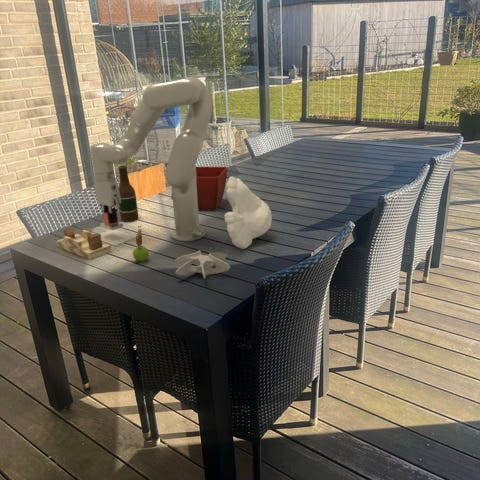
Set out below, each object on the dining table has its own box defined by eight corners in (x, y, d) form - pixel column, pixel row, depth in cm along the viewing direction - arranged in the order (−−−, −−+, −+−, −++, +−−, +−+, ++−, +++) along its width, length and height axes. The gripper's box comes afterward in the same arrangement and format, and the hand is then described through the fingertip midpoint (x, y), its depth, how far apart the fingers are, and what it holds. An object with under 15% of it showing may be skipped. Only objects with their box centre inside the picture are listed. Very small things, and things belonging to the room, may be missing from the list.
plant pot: (220, 213, 214) (218, 176, 208) (179, 212, 218) (176, 176, 212) (229, 200, 232) (227, 166, 225) (192, 200, 236) (189, 166, 229)
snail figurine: (151, 256, 173) (147, 224, 168) (148, 263, 167) (144, 231, 162) (135, 256, 172) (131, 225, 168) (132, 264, 166) (128, 232, 162)
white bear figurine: (248, 209, 196) (216, 170, 179) (281, 207, 186) (250, 166, 170) (228, 262, 185) (192, 226, 168) (262, 263, 175) (227, 224, 159)
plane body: (111, 251, 178) (108, 232, 175) (90, 259, 172) (87, 240, 169) (78, 239, 191) (74, 222, 189) (57, 246, 185) (54, 228, 182)
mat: (137, 237, 191) (137, 236, 190) (115, 246, 183) (115, 245, 183) (113, 230, 200) (113, 228, 200) (91, 238, 192) (90, 237, 192)
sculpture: (219, 288, 147) (218, 269, 144) (162, 280, 154) (160, 262, 152) (240, 265, 162) (239, 248, 159) (188, 258, 169) (186, 242, 167)
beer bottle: (121, 223, 208) (113, 169, 199) (120, 218, 215) (112, 165, 206) (139, 221, 209) (132, 167, 201) (138, 215, 216) (131, 163, 208)
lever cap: (123, 226, 189) (121, 211, 187) (112, 230, 186) (110, 215, 183) (110, 222, 194) (108, 208, 192) (100, 226, 190) (98, 211, 188)
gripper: (125, 176, 180) (131, 222, 187) (100, 171, 190) (106, 215, 197) (109, 181, 175) (116, 228, 181) (83, 175, 184) (91, 220, 191)
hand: (111, 221), depth 189 cm, fingers closed on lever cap, 3 cm apart
